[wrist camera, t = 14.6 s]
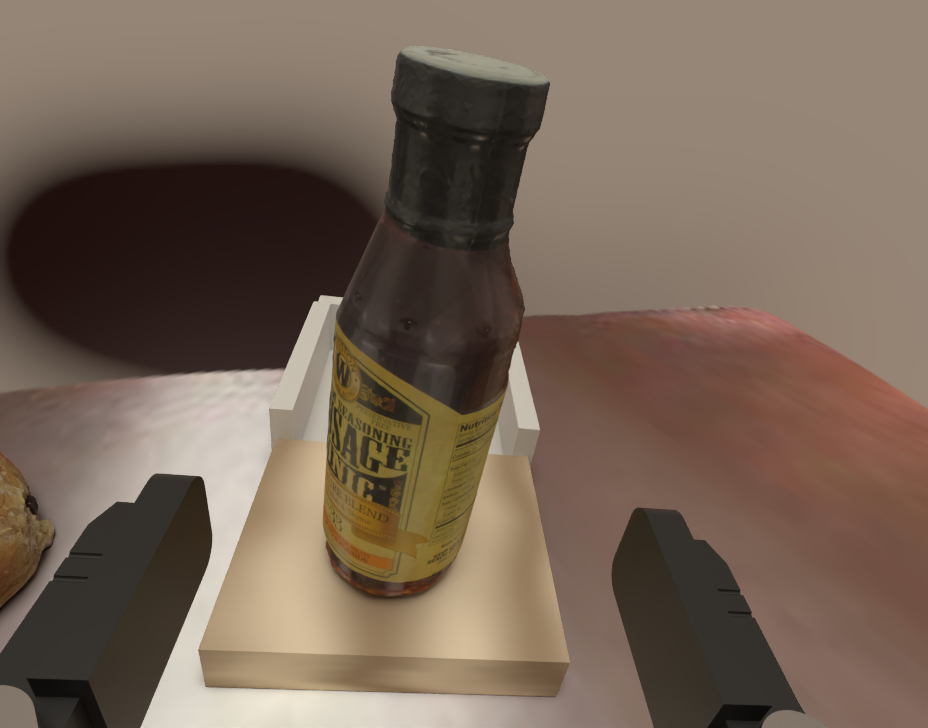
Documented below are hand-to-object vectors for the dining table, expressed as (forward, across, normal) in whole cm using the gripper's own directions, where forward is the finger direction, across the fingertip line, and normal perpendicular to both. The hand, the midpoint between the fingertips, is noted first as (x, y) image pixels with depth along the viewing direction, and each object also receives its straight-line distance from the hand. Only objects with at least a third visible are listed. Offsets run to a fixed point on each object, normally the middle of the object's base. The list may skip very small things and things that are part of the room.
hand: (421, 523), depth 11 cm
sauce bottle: (+10, 0, +13) cm, 16 cm away
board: (+11, 0, +15) cm, 19 cm away
